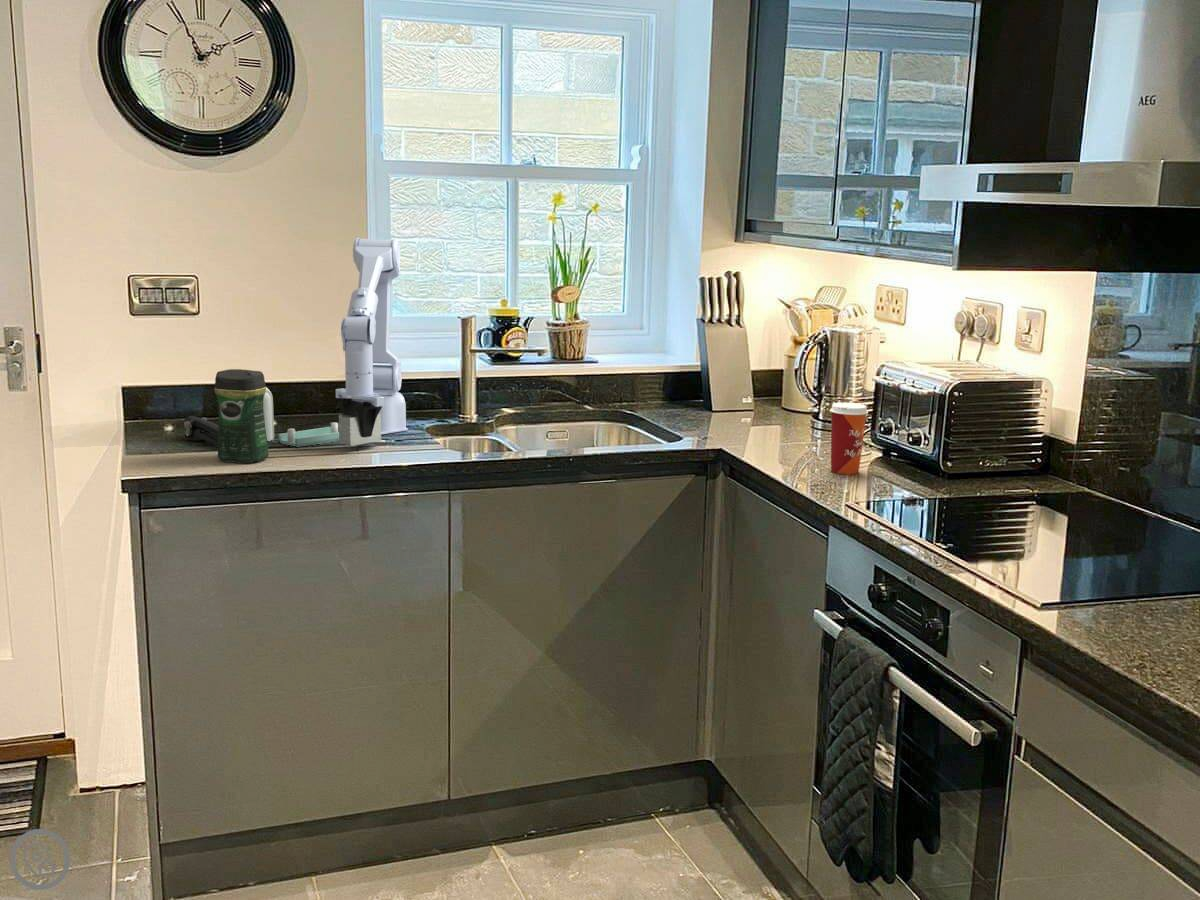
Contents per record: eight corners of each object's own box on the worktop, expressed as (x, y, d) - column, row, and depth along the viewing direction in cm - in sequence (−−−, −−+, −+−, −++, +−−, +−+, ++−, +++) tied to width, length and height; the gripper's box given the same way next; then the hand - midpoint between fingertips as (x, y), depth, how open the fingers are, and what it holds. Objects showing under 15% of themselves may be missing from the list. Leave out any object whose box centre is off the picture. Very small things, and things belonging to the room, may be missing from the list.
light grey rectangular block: (369, 437, 254) (369, 410, 253) (381, 440, 251) (380, 413, 250) (339, 442, 248) (338, 414, 247) (350, 445, 246) (350, 417, 244)
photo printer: (239, 435, 261) (237, 381, 258) (257, 433, 264) (255, 379, 261) (258, 443, 253) (256, 387, 251) (277, 441, 256) (275, 385, 253)
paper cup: (856, 477, 235) (861, 409, 233) (820, 472, 239) (824, 405, 237) (869, 470, 242) (874, 404, 239) (834, 465, 246) (838, 400, 243)
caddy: (328, 435, 263) (328, 420, 263) (347, 440, 259) (347, 424, 258) (278, 443, 254) (278, 427, 253) (297, 448, 249) (297, 432, 249)
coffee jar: (274, 457, 240) (271, 368, 236) (253, 465, 232) (250, 373, 228) (233, 454, 242) (229, 365, 238) (211, 461, 235) (207, 370, 231)
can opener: (176, 440, 256) (175, 414, 254) (206, 436, 260) (205, 411, 259) (214, 453, 243) (213, 427, 242) (245, 449, 248) (244, 423, 247)
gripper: (323, 370, 248) (324, 432, 251) (364, 378, 239) (365, 442, 242) (350, 367, 254) (351, 428, 256) (391, 375, 244) (392, 438, 247)
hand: (360, 435), depth 250 cm, fingers closed on light grey rectangular block, 4 cm apart
